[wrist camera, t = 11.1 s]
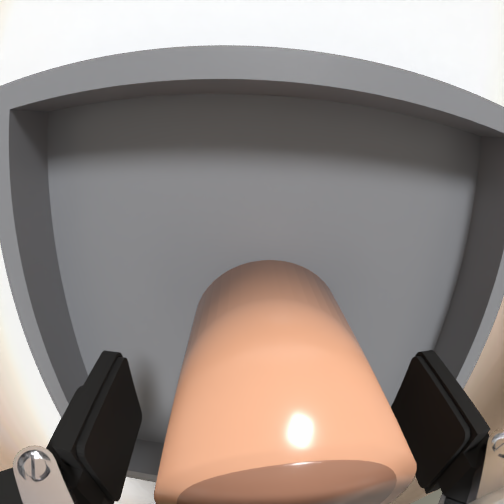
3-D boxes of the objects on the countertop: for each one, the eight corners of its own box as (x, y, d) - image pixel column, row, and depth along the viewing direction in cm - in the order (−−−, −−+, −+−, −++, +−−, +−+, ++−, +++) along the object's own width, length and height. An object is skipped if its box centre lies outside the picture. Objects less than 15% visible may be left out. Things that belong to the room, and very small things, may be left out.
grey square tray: (481, 119, 11) (532, 122, 7) (396, 429, 17) (412, 466, 14) (44, 94, 10) (-6, 88, 6) (106, 429, 17) (92, 468, 13)
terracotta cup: (348, 261, 12) (462, 417, 4) (325, 377, 14) (369, 527, 6) (191, 257, 11) (121, 439, 4) (198, 377, 13) (175, 537, 6)
